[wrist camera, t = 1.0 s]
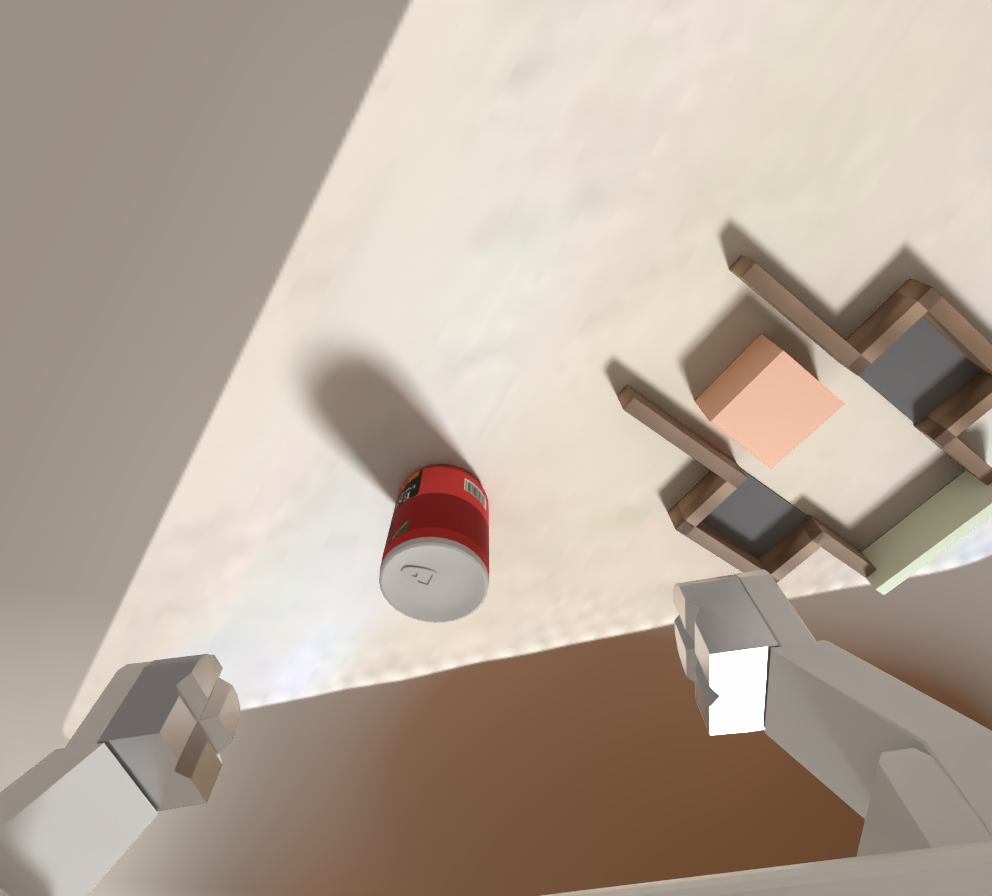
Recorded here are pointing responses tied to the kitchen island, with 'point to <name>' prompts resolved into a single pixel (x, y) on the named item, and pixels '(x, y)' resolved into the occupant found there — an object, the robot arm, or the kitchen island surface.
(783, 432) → the block
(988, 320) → the kitchen island surface
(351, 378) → the kitchen island surface
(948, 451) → the box
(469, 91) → the kitchen island surface
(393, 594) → the canned food
